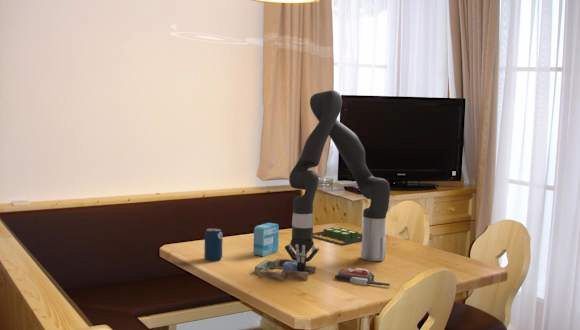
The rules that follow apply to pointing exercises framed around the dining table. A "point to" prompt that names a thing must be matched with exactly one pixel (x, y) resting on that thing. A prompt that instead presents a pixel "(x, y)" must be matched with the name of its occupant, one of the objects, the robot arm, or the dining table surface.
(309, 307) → the dining table surface
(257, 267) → the trap channel
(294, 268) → the decorative dice
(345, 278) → the walkie-talkie
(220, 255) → the soda can
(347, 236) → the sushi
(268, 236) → the light blue box
